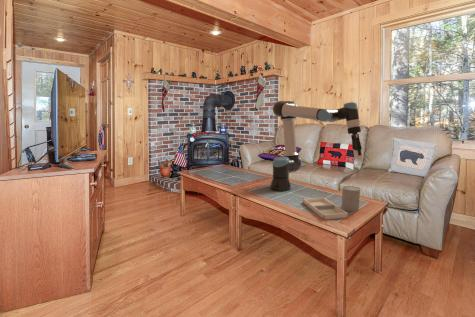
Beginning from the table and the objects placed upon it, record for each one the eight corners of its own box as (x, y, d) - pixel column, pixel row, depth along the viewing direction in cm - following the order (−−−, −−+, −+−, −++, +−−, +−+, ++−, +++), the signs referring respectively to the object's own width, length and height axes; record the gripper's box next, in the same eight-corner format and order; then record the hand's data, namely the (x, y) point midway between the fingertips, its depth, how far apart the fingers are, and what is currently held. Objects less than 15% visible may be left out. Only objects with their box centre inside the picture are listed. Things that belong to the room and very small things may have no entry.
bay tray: (303, 202, 168) (303, 198, 168) (324, 201, 170) (324, 197, 170) (323, 219, 141) (323, 214, 141) (348, 217, 143) (348, 213, 143)
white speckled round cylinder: (343, 204, 164) (344, 185, 162) (360, 207, 158) (361, 187, 156) (339, 209, 156) (340, 188, 154) (357, 212, 151) (358, 191, 149)
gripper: (363, 124, 156) (368, 160, 156) (356, 126, 180) (361, 158, 180) (349, 126, 158) (355, 162, 158) (345, 128, 182) (349, 159, 182)
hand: (358, 160), depth 169 cm, fingers open, 13 cm apart
